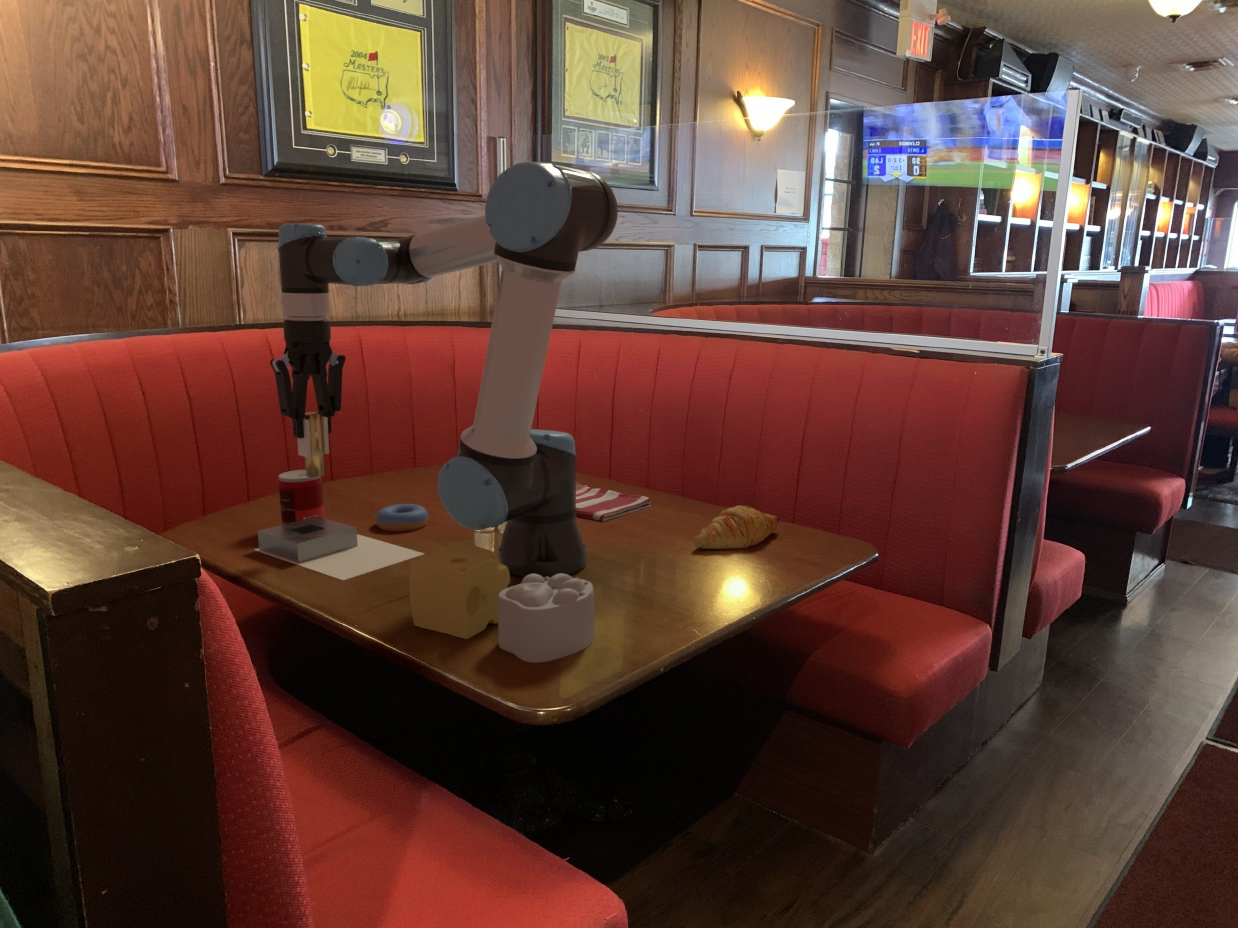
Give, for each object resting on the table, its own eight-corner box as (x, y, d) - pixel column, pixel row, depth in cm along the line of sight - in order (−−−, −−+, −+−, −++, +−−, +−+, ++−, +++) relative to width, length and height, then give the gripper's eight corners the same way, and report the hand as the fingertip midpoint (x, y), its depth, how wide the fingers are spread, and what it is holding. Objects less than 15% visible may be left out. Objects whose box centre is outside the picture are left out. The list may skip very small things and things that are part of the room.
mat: (425, 555, 157) (425, 553, 157) (343, 582, 143) (343, 580, 143) (335, 529, 172) (335, 527, 172) (253, 551, 159) (253, 549, 159)
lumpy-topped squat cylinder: (489, 642, 121) (487, 581, 119) (565, 617, 129) (564, 560, 127) (535, 667, 113) (533, 603, 111) (612, 639, 122) (612, 579, 120)
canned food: (331, 524, 176) (327, 469, 173) (314, 536, 168) (310, 479, 166) (294, 523, 176) (290, 468, 174) (275, 534, 169) (270, 478, 166)
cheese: (513, 616, 130) (512, 551, 128) (465, 643, 121) (462, 572, 119) (458, 603, 135) (456, 539, 133) (408, 627, 126) (404, 559, 124)
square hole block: (357, 546, 161) (356, 527, 160) (298, 563, 151) (297, 543, 151) (317, 534, 168) (316, 516, 167) (259, 549, 159) (257, 530, 158)
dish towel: (572, 490, 205) (572, 479, 204) (653, 507, 190) (653, 495, 190) (519, 505, 192) (519, 493, 192) (601, 524, 178) (601, 511, 177)
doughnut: (419, 515, 181) (416, 494, 180) (437, 530, 173) (434, 508, 172) (370, 527, 176) (367, 506, 175) (387, 543, 168) (384, 520, 167)
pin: (327, 475, 157) (324, 413, 155) (312, 478, 155) (309, 415, 152) (317, 472, 159) (314, 411, 156) (302, 475, 157) (299, 413, 154)
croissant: (705, 574, 158) (720, 541, 154) (671, 537, 164) (685, 504, 159) (785, 548, 171) (802, 517, 166) (752, 515, 176) (767, 484, 172)
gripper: (334, 315, 159) (340, 444, 164) (250, 318, 147) (259, 458, 152) (360, 318, 154) (365, 450, 160) (275, 321, 142) (284, 465, 148)
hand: (313, 453), depth 156 cm, fingers closed on pin, 3 cm apart
